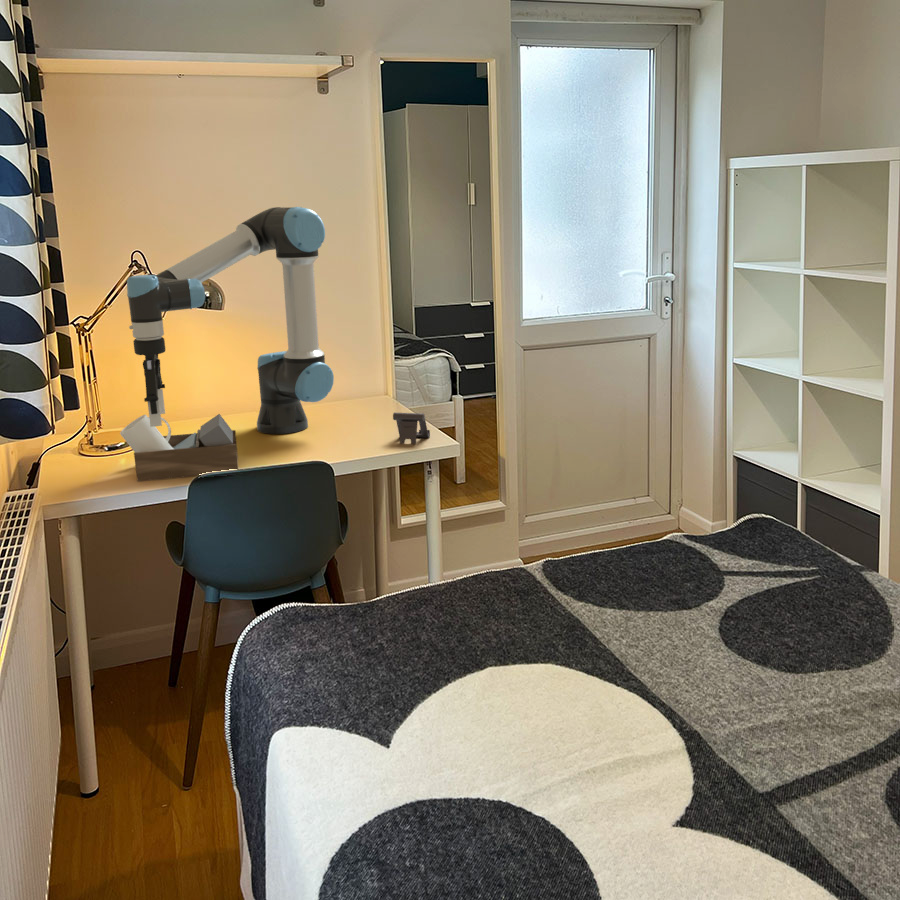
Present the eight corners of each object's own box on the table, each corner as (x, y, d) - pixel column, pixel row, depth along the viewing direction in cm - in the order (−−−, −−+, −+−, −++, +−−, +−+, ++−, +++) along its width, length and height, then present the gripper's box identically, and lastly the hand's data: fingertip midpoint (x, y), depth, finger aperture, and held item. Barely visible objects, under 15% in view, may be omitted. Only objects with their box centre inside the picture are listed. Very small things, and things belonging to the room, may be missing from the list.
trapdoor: (232, 431, 265) (219, 413, 263) (232, 443, 253) (218, 425, 251) (164, 477, 264) (150, 460, 262) (161, 492, 252) (146, 474, 250)
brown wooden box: (142, 464, 264) (138, 434, 261) (237, 456, 268) (235, 426, 266) (137, 481, 249) (133, 449, 247) (238, 472, 254) (235, 441, 251)
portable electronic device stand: (430, 437, 282) (429, 408, 280) (423, 444, 275) (421, 415, 272) (401, 436, 284) (400, 407, 282) (392, 443, 277) (391, 414, 275)
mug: (179, 442, 264) (150, 406, 260) (189, 442, 256) (160, 405, 252) (144, 470, 258) (115, 434, 254) (153, 470, 251) (123, 433, 247)
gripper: (137, 331, 259) (146, 410, 265) (128, 346, 235) (138, 432, 241) (167, 329, 260) (175, 407, 266) (160, 344, 237) (170, 430, 243)
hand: (158, 419), depth 254 cm, fingers open, 13 cm apart
